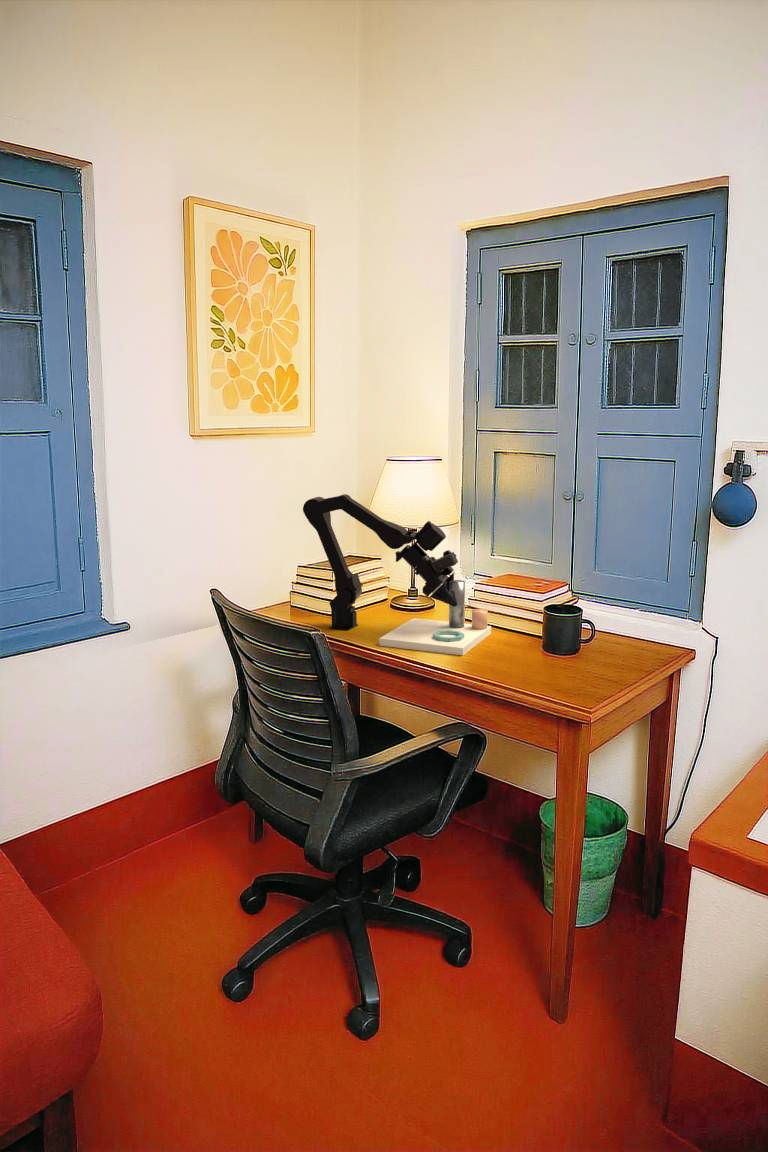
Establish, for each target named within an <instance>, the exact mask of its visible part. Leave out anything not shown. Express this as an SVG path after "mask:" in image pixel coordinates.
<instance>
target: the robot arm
mask: <svg viewBox="0 0 768 1152" xmlns="http://www.w3.org/2000/svg"><path fill="white" fill-rule="evenodd" d="M338 510H340V511H343V512H344V513H346V514H347V515H349V516H350V517H352V518H353V519H355V520H356V521H358V522H360V523H361V524H362V525H363V526H365V527H367V528H368V529H370V530H371V531H373V532H374V534H376V535H377V537H378V538H379V539H380V540H381V541H382V543H384V544H385V545H386V546H387V547H389V549H391V550H398V549H400V548H402V547H403V546H404V547H403V549H401V550H398V551H395V562H397V563H398V562H399V561H401V560H402V559H403V560H404V561H405V562H406V563H407V564H408V565H409V567H411V568H412V569H413V570H414V571H415V572H414V574H415V575H416V576H418V575H419V577H420V578H422V580H423V581H424V586H423V587H422V594H424V596H425V597H426V598H428V597H429V598H430V599H434V600H436V601H440V602H441V603H444V604H447V605H448V606H449V605H451V606H454V607H455V606H457V602H456V601H455V599H454V598H453V597H452V595H451V594H450V593H449V581H451V580H455V572H454V571H455V569H454V568H453V567H454V566H455V565H457V564H458V563H459V560H458V559H457V554H456V553H454V551H450V550H449V549H447V550H445V551H443V553H442V556H441V557H439V558H436V557H435V556H429V555H428V553H426V552H428V551H429V552H432V551H434V549H436V548H437V547H438V546H439V545H440V544H441V543H442V542H443V541H444V540H445V539H446V538H447V536H446V533H445V532H444V531H443V530H442V528H440V526H437V525H436V524H435V523H432V522H431V521H430V520H428V521H426V523H425V524H424V525H423V526H422V527H421V529H420V530H418V531H410V530H407V529H406V527H404V526H402V525H399V524H397V523H394V522H391V521H388V520H387V519H384V518H382V517H380V516H379V515H377V514H376V513H375V512H373V511H372V510H370V509H369V508H367V507H365V506H364V505H362V504H361V503H360V502H358V501H356V500H354V499H353V498H352V497H351V496H350V494H349V495H348V494H347V493H346V494H345V493H343V494H341V495H336V496H333V497H332V496H331V497H327V498H324V497H322V496H315V497H312V498H310V499H308V500H306V501H305V503H304V504H303V506H302V512H303V514H304V517H306V519H307V521H308V523H309V524H310V525H311V526H312V527H313V528H314V529H315V530H316V531H315V532H316V533H317V535H318V538H319V540H320V542H321V545H322V548H323V550H324V553H325V554H326V557H327V559H328V560H327V561H328V562H329V565H330V567H331V570H332V572H333V575H334V588H335V593H336V596H334V598H332V599H331V600H330V602H329V606H330V610H331V625H329V626H328V628H329V629H333V630H341V631H342V630H344V631H349V630H352V629H354V628H356V627H357V626H358V623H357V621H358V619H357V615H358V614H357V611H356V605H355V604H356V601H357V600H358V599H359V598H360V597H361V595H362V593H363V588H362V587H363V586H364V584H363V583H362V582H361V580H360V577H359V576H360V575H359V574H358V573H355V574H353V573H352V572H351V570H350V569H349V567H348V565H347V564H348V563H347V561H346V559H345V556H344V554H343V552H342V549H341V547H340V544H339V542H338V539H337V537H336V534H335V531H334V529H333V527H332V516H331V515H332V514H331V512H335V511H338ZM415 540H416V541H415ZM412 542H413V544H412V545H410V544H411V543H412Z"/></svg>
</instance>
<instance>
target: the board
mask: <svg viewBox="0 0 768 1152" xmlns="http://www.w3.org/2000/svg"><path fill="white" fill-rule="evenodd" d="M491 634H492V626H491V625H487V629H485V630H475V629H472V623H465V622H464V627H463V628H450V627H449V621H445V620H436V619H425V618H415V617H413V618H410V619H409V620H408V621H406V622H404V623H402V624H401V625H399V626H397V627H396V628H394V629H392V630H390V631H389V632H388V633H386V634H384V635H383V636H381V637H379V638H378V640H379V641H378V642H379V643H378V646H382V647H387V648H388V647H390V648H397V649H398V648H399V649H404V650H405V649H407V650H413V651H423V652H430V653H439V654H447V655H456V656H464V655H466V654H467V653H468V652H469V651H470V650H472V649H473V648H474V647H476V646H477V645H478V644H480V642H482V641H484V640H485V639H486V638H487V637H488V636H489V635H491Z"/></svg>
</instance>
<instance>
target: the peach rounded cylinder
mask: <svg viewBox="0 0 768 1152" xmlns="http://www.w3.org/2000/svg"><path fill="white" fill-rule="evenodd" d="M488 612H489V611H488V610H487V609H485V608H473V609H472V610H471V624H472V629H475V630H485V629H487V626H488V620H489V619H488V617H489V615H488Z"/></svg>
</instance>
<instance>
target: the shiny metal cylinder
mask: <svg viewBox="0 0 768 1152" xmlns="http://www.w3.org/2000/svg"><path fill="white" fill-rule="evenodd" d="M465 592H466V581H465V580H462V579H454V580H451V581H449V593H450V594H451V595H452V597H453V598H454V599H455V601H456V602H457V606H455V607H454V606H451V605H449V604H448V622H449V627H450V628H463V627H464V623H465V610H466V609H465V607H466V606H465V605H466V604H465V603H466V601H465V599H466V598H465V597H466V595H465V594H466V593H465Z"/></svg>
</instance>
